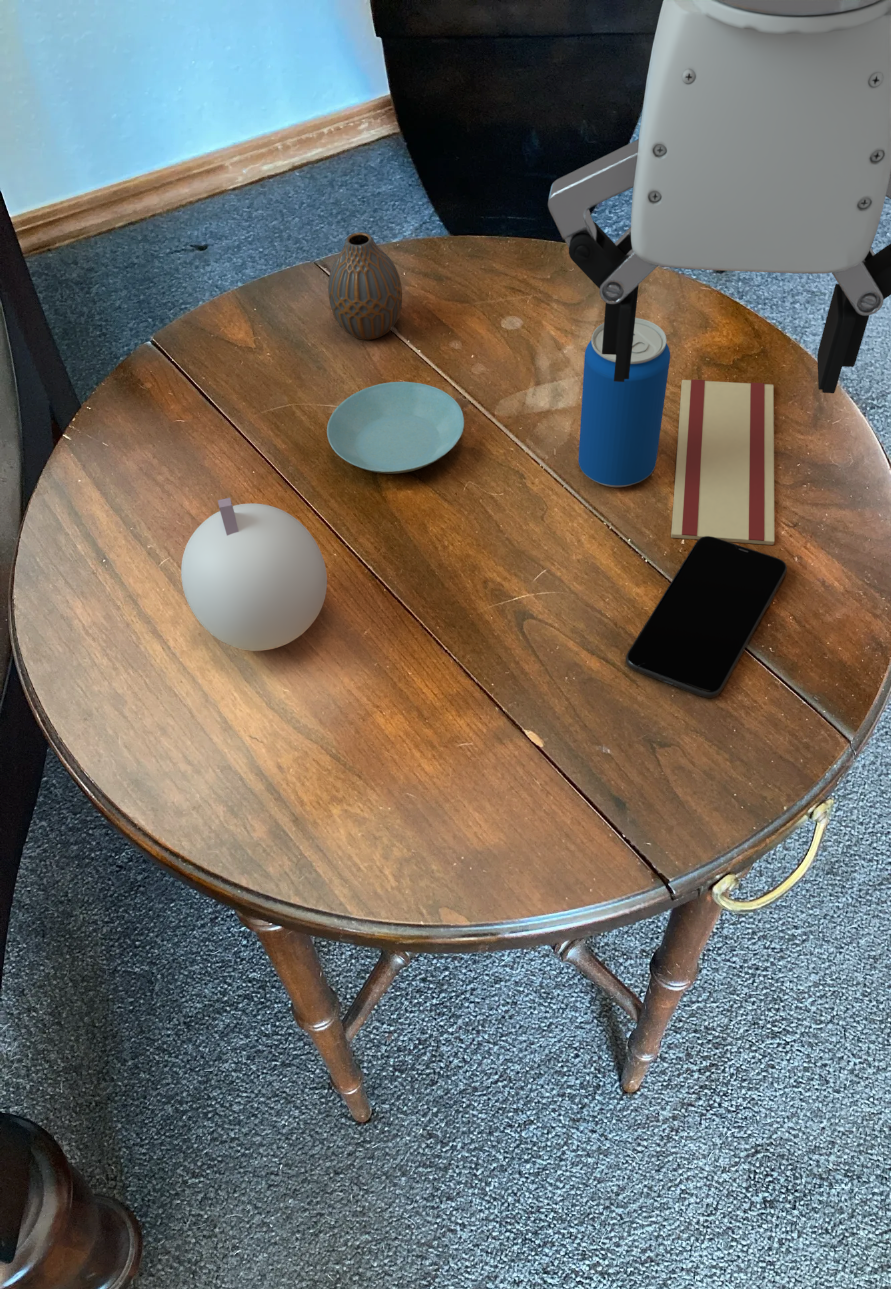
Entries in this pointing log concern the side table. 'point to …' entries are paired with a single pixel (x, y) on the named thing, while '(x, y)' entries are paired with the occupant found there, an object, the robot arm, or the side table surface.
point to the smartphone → (707, 616)
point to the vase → (364, 288)
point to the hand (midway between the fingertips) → (722, 370)
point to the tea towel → (725, 462)
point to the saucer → (395, 427)
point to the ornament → (253, 576)
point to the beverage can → (623, 408)
